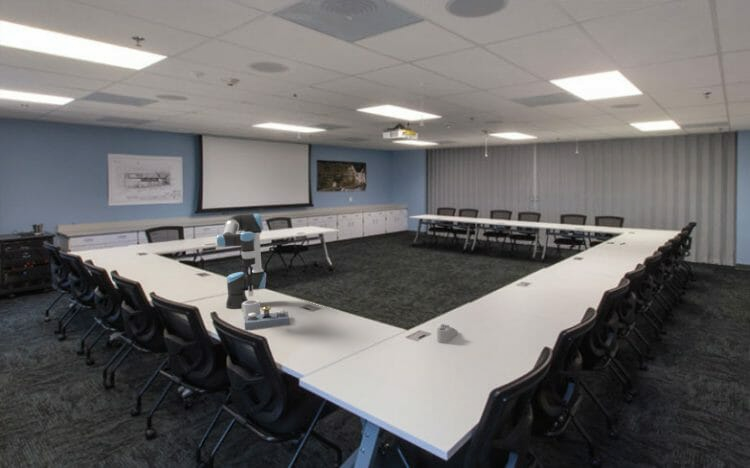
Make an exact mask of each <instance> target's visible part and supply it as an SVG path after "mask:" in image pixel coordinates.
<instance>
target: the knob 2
mask: <svg viewBox="0 0 750 468" xmlns="http://www.w3.org/2000/svg"><path fill="white" fill-rule="evenodd" d="M285 312H286V310H285V309H278V310H276V313H277V314H278V317H283V316H284V313H285Z"/></svg>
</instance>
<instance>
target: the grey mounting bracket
mask: <svg viewBox="0 0 750 468" xmlns="http://www.w3.org/2000/svg"><path fill="white" fill-rule="evenodd" d="M436 331H437V332H436V334H437V335H436V336H437V337H436V340H437V341H436V342H437V343H438V344H447V343H449V342H450V341H451V340H452V339H453V338H455V337H456V336H457V335H458V330H457V329H455V327H451V326H450V325H449V324H445V323H444V324H443V323H442V324H440V326H439V327H438V328H437V330H436Z"/></svg>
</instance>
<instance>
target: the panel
mask: <svg viewBox="0 0 750 468" xmlns="http://www.w3.org/2000/svg"><path fill="white" fill-rule="evenodd" d="M269 315H270V317H269V318H264V313H262V314H260V315H257V316H256V320H249V317H248V316H245V318H244V330H245V331H246V330H254V329H264V328H270V327H280V326H287V325H290V324H291V322H290V321H291V320H290V316H289V312H288V311H285V313H284V316H283V317H278V314H277V312H271V313H270V312H269Z"/></svg>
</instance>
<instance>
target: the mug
mask: <svg viewBox="0 0 750 468" xmlns="http://www.w3.org/2000/svg"><path fill="white" fill-rule="evenodd" d="M241 312H242V313H243V314H242V317H243V318H244V319H245V316H248V314H249V313H257V315H260V314H261V302H260V300H258V299H248V301H245V302H243V303H242V308H241Z"/></svg>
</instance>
